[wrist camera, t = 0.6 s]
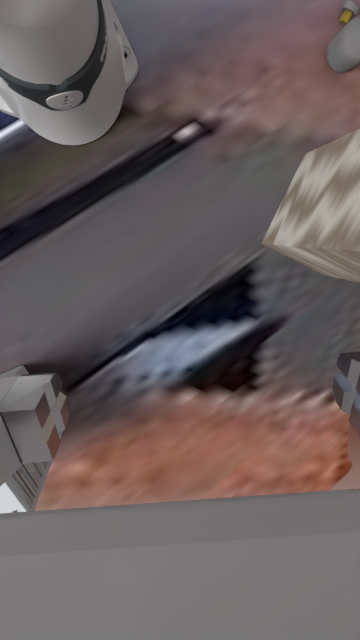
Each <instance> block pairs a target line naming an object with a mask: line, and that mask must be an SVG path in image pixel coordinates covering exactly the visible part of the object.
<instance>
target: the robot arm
mask: <svg viewBox="0 0 360 640" xmlns="http://www.w3.org/2000/svg"><path fill="white" fill-rule="evenodd" d="M124 54H126V55H127V58H124ZM137 73H138V62H137V59H136V57H135V55H134V52H133V50H132V48H131V46H130V43H129V41H128V39H127V37H126V34H125V32H124V30H123V28H122V26H121V23H120V21H119V19H118V17H117V14H116V12H115V10H114V8H113V5H112V3H111V1H110V0H0V111H2V112H4V113H7V114H9V115H12V116H15V117H18V118H19V119H21V120H22V121H23V122H25V123H26V124H27V125H28V126H29V127H30V128H31V129H32V130H34V131H35V132H36V133H38V134H39V135H41V136H42V137H44V138H46V139H48V140H50V141H53V142H56V143H59V144H64V145H81V144H86V143H89V142H91V141H94V140H96V139H98V138H99V137H101V136H102V135H103V134H105V133H106V132H107V131H108V130H109V129H110V127H111V126H112V125H113V123H114V122H115V120H116V119H117V117H118V114H119V112H120V109H121V106H122V102H123V98H124V94H125V92H126V89H127V88H128V87H129V86H130V84H131V83H132V82H133V80H134V79H135V77H136V75H137ZM337 366H338V368H339V369H340V372H339V373H338V374H337V375H336V376H335V377H334V382H333V392H334V397H335V400H336V402H337V404H338V406H339V407H340V409H341V410H343V411H344V412H346V413H348V414H350V417H349V422H350V424H351V425H352V427H353V428H354V430H355V431H356V433H357V434H358V436H359V437H360V351H358V352H346V353H340V355H339V357H338V360H337ZM62 386H63V383H62V380H61V377H60V375H59V374H58V373H42V374H23V375H8V376H4V377H2V378H1V379H0V487H1V486H2V485H3V484H4V483H5V482H6V481H7V480H8V479H9V478H10V477H11V476H12V475H13V474H14V473H15V472H16V471H17V470H18V469H19V468H20V467H21V464H26V463H36V462H46V461H53V460H54V457H55V454H56V452H57V449H58V447H59V444H60V438H59V434H60V433H61V432H62V431H63V430H64V429H65V428H66V425H67V423H68V417H69V404H68V400H67V396H65V395H64V394H63V393H62V392H60V390H61V388H62ZM0 640H360V489H348V490H334V491H333V490H332V491H318V492H303V493H288V494H274V495H259V496H245V497H230V498H216V499H202V500H187V501H173V502H159V503H144V504H130V505H115V506H101V507H87V508H72V509H58V510H43V511H29V512H14V513H0Z"/></svg>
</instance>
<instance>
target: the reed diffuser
mask: <svg viewBox="0 0 360 640" xmlns="http://www.w3.org/2000/svg"><path fill="white" fill-rule="evenodd" d="M359 9H360V8H359V6H358V5H357V4H355V3H354V2H352V1H349V0H346V1H345V3H344V5H343V7H342V10H343V11H344V12H343V14H342V16H341V18H340V22H341V23H342V24H345V26H344V27H343V28H342V29H341V30H340V31H339V32H338V33H337V34H336V35H335V37H334V38H333V39H332V40H331V42H330V43H329V46H328V49H327V60H328V64H329V65H330V67H331V68H332V69H333V70H334V71H336V72H339V73H344V72H347V71H348V70H350V69H352V68H353V67H355V66H356V65H357V64H359V63H360V16H358V17H355V16H356V15H357V13H358V11H359ZM351 16H353V17H355V18H353V19H352V20H350V21H349V19H350V17H351ZM348 21H349V22H348Z"/></svg>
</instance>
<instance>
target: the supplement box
mask: <svg viewBox="0 0 360 640" xmlns="http://www.w3.org/2000/svg"><path fill="white" fill-rule="evenodd" d="M23 374H29V373H28V371H27V370H26V368H25V367H24V366H23V365H21V366H19V367H17V368H15V369H12V370H10V371H8V372H5V373H3V374H1V375H0V379H1V378H2V377H4V376H8V375H23ZM63 431H64V430H63ZM63 431H62V432H61V433H60V434H59V438H60V439H61V436H62V433H63ZM51 463H52V461H46V462H36V463H26V464H21V467H20V468H19V469H18V470H17V471H16V472H15V473H14V474H13V475H12V476H11V477H10V478H9V479H8V480H7V481H6V482H5V483H4V484H3V485H2V486H1V487H0V513H14V512H29V511H34V509H35V506H36V503H37V501H38V498H39V495H40V492H41V490H42V487H43V484H44V482H45V479H46V476H47V474H48V471H49V468H50V465H51Z"/></svg>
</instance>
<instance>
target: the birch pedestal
mask: <svg viewBox="0 0 360 640" xmlns="http://www.w3.org/2000/svg"><path fill="white" fill-rule="evenodd" d="M261 244H263V245H265V246H267V247H269V248H271V249H273V250H275V251H277V252H279V253H281V254H283V255H285V256H287V257H289V258H291V259H293V260H295V261H297V262H299V263H301V264H303V265H305V266H307V267H309V268H311V269H313V270H315V271H317V272H319V273H321V274H323V275H327V276H331V277H336V278H340V279H345V280H350V281H354V282H359V283H360V128H359V129H357V130H355V131H353V132H351V133H349V134H347V135H344V136H342V137H340V138H338V139H336V140H334V141H332V142H330V143H327V144H325V145H323V146H321V147H319V148H317V149H315V150H313V151H311V152H308V153H306V154H305V155H304V157H303V159H302V161H301V163H300V165H299V167H298V169H297V171H296V173H295V175H294V177H293V179H292V182H291V184H290V186H289V188H288V190H287V192H286V194H285V196H284V198H283V200H282V202H281V204H280V206H279V208H278V210H277V212H276V214H275V216H274V219H273V221H272V223H271V225H270V227H269V229H268V231H267V233H266V235H265V237H264V239H263V241H262V243H261Z"/></svg>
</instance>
